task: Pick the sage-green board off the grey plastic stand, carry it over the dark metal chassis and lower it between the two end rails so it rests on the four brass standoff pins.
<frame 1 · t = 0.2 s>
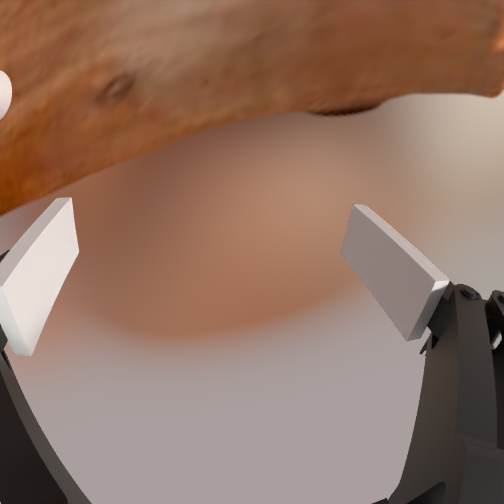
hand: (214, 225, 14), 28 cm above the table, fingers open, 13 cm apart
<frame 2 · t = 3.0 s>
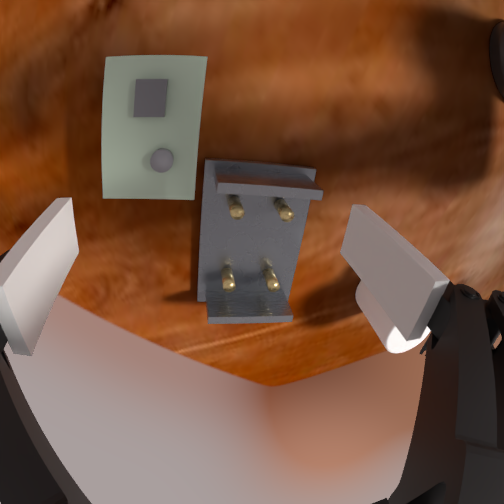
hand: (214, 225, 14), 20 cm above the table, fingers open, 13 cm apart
board: (153, 124, 24), point 5 cm above the table, touching stand
mug: (382, 276, 45), on the table
chassis: (251, 236, 37), on the table
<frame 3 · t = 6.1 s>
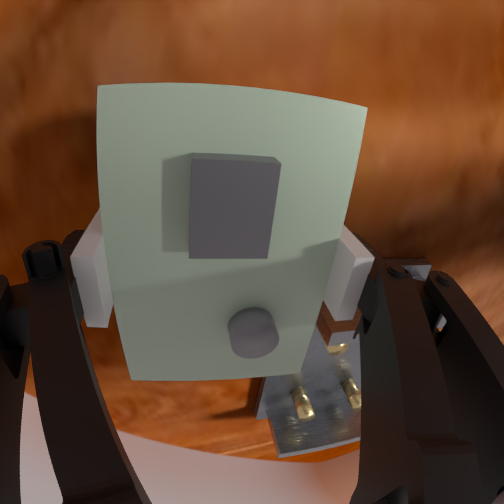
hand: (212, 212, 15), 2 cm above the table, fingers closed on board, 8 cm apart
board: (217, 238, 13), point 5 cm above the table, touching gripper, stand
chassis: (333, 348, 26), on the table
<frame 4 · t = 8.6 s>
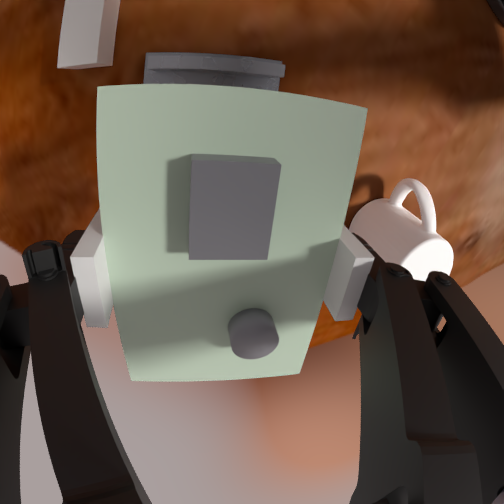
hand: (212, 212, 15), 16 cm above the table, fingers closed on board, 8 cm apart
board: (217, 239, 13), point 18 cm above the table, touching gripper
stand: (100, 18, 20), on the table
mug: (380, 214, 36), on the table
chassis: (205, 147, 28), on the table
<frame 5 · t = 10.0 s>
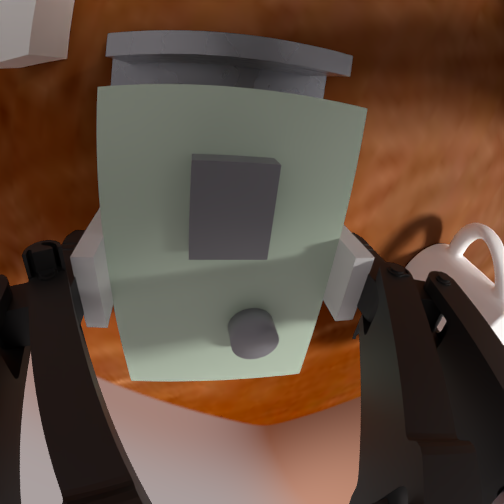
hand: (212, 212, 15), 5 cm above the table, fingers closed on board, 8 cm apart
board: (217, 239, 13), point 7 cm above the table, touching gripper
mug: (433, 262, 26), on the table
chassis: (210, 182, 19), on the table
when the fingers open (2 cm above the table, at t = 11.3 s): board stays where it is, resting on chassis.
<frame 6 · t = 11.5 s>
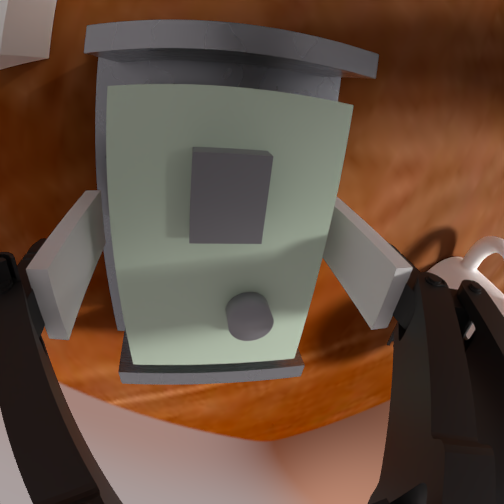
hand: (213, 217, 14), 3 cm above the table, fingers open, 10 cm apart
board: (216, 228, 14), point 4 cm above the table, touching chassis
mug: (445, 275, 24), on the table
chassis: (209, 196, 17), on the table
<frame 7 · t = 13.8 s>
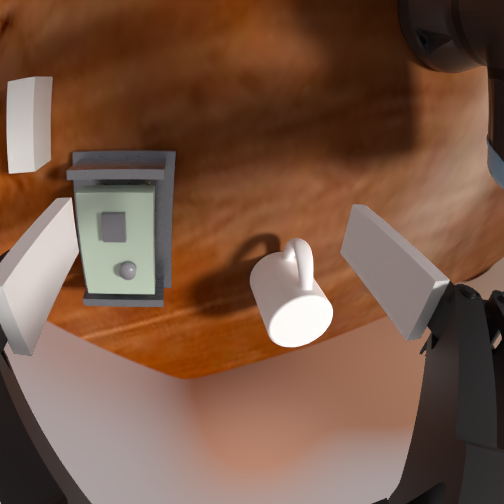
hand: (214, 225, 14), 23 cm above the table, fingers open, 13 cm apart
board: (119, 237, 33), point 4 cm above the table, touching chassis
stand: (38, 119, 27), on the table
mug: (279, 264, 44), on the table
chassis: (124, 222, 36), on the table
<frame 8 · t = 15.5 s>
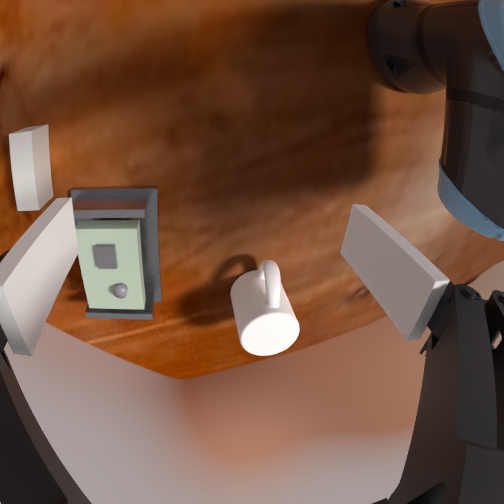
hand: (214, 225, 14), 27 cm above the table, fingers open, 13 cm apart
board: (113, 262, 39), point 4 cm above the table, touching chassis
stand: (39, 161, 33), on the table
mug: (257, 280, 49), on the table
chassis: (118, 247, 42), on the table
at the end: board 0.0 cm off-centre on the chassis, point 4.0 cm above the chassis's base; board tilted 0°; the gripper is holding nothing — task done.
